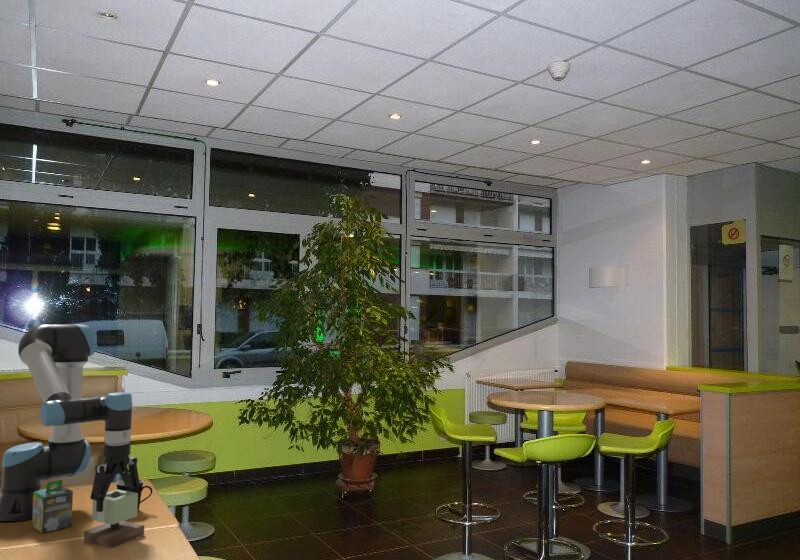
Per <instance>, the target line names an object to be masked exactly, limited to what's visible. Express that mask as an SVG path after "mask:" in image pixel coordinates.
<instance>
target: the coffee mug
mask: <svg viewBox="0 0 800 560" xmlns="http://www.w3.org/2000/svg"><path fill="white" fill-rule="evenodd" d="M139 483H140V487H139V488H136V489H137V491H136V492H134V493H138V507H137V511H138V510H139V511H140V505H141V504H142V503H143V502H145V501H146V500H147V499H149V498H150V497H151V496H152V495H153V488H152V487H151V486H149V485H144V480H143V479H140V478H139ZM143 485H144V486H143ZM145 488H148V489H149V491H150V494H149V495H148V496H147V497H145V498H144V499H142V492H143V490H144V489H145ZM116 490H123V491H128V490H127V489H126V486H125V484H124V482H123V479H121V480H119V481H117V482H116ZM141 499H142V500H141ZM139 511H138V512H139Z"/></svg>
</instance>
